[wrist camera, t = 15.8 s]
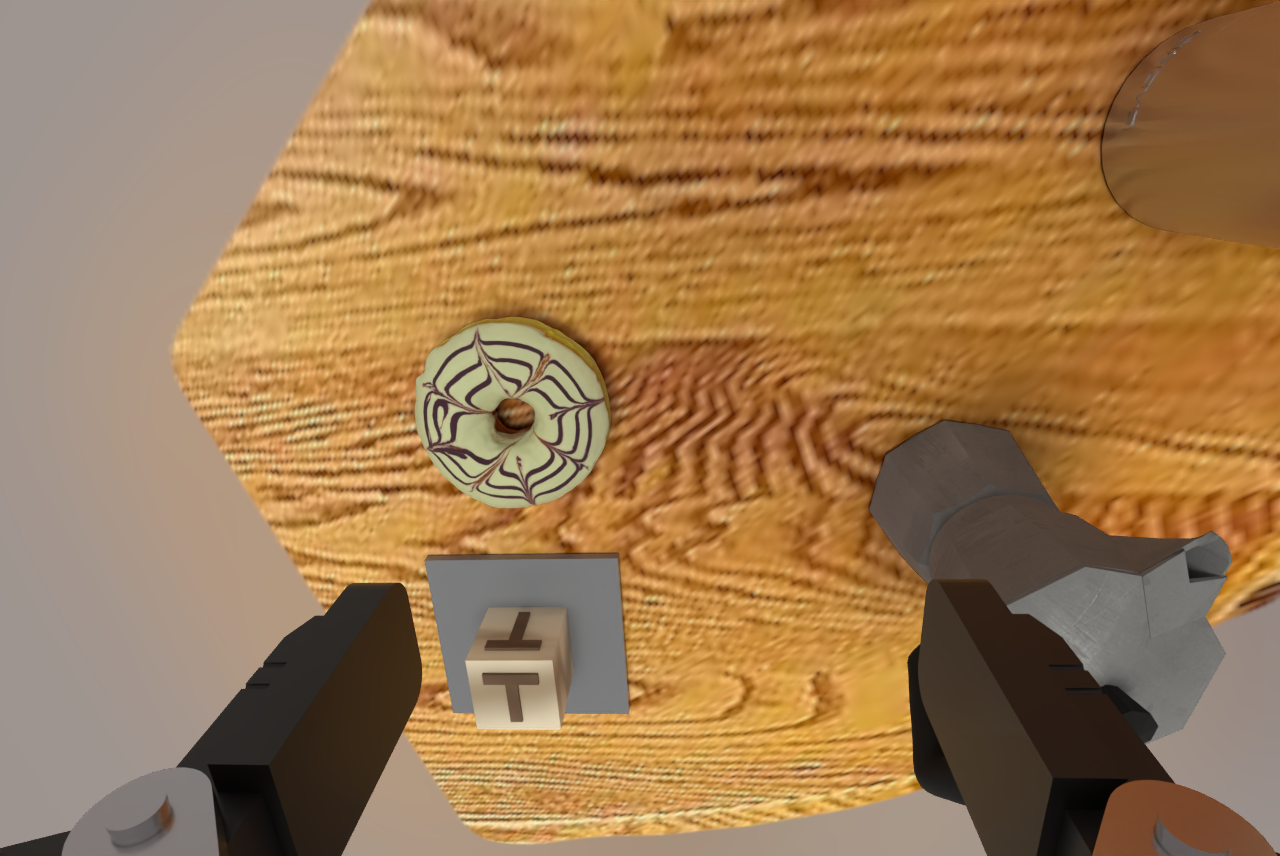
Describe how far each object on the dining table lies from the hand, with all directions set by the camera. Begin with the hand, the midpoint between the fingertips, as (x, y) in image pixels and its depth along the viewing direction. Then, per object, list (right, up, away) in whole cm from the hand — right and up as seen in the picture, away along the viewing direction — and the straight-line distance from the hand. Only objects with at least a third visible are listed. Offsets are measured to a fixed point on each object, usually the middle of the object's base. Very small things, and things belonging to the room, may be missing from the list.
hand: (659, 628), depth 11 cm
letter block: (-7, -10, +34) cm, 37 cm away
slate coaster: (-7, -10, +35) cm, 37 cm away
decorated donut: (-7, +5, +29) cm, 31 cm away
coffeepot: (+17, -1, +30) cm, 34 cm away
